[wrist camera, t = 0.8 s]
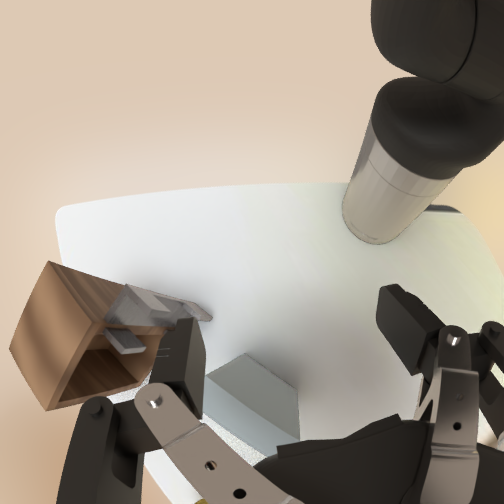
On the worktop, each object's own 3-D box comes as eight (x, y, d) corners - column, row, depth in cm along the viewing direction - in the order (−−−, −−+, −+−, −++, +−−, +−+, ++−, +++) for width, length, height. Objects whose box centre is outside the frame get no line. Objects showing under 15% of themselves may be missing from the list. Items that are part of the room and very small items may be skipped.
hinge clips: (194, 302, 35) (125, 283, 20) (212, 317, 34) (151, 309, 19) (174, 330, 34) (97, 327, 19) (192, 345, 33) (121, 354, 18)
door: (245, 353, 32) (205, 375, 17) (297, 389, 30) (300, 441, 15) (233, 367, 32) (186, 398, 17) (285, 404, 30) (278, 463, 15)
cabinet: (142, 290, 36) (48, 260, 19) (182, 327, 34) (92, 322, 17) (104, 348, 35) (8, 348, 18) (139, 386, 33) (45, 411, 16)
